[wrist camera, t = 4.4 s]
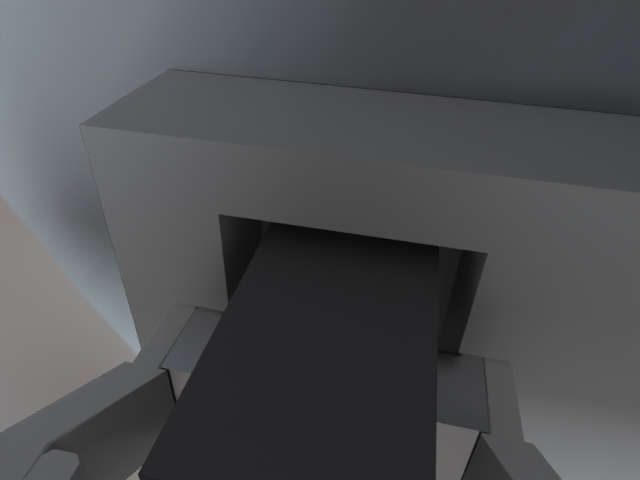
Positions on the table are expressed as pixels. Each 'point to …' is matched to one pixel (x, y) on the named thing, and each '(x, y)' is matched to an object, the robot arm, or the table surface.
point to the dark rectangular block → (314, 367)
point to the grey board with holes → (403, 225)
